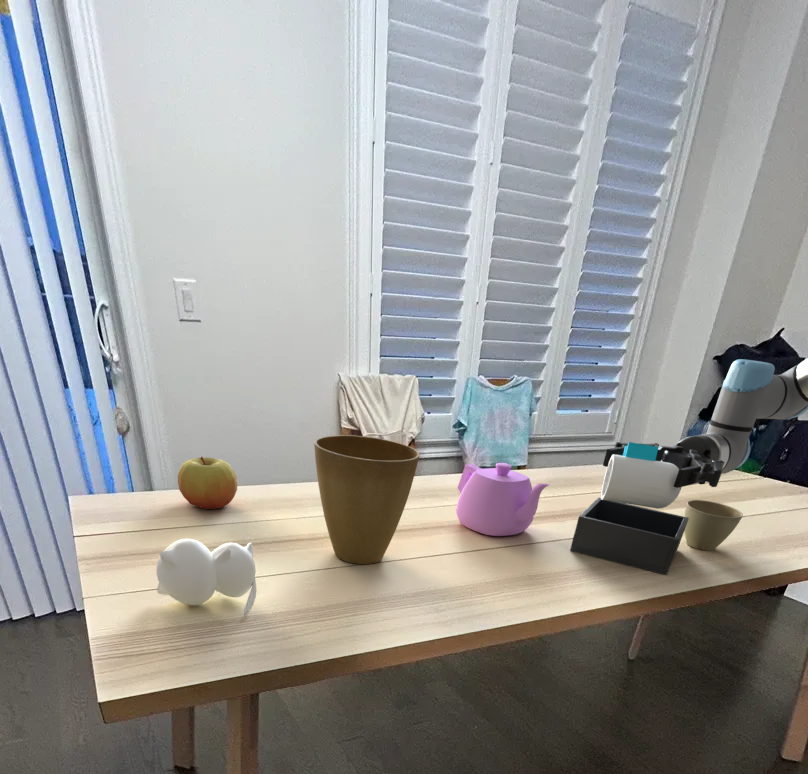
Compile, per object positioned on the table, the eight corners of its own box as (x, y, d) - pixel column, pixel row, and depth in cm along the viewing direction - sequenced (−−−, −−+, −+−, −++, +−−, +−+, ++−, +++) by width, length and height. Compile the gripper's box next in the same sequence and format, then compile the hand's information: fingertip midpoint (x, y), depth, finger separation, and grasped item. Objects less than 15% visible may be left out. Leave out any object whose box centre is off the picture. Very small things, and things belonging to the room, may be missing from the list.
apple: (174, 497, 112) (169, 449, 107) (229, 495, 116) (227, 449, 111) (187, 515, 105) (182, 465, 100) (245, 512, 109) (243, 463, 105)
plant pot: (373, 583, 90) (382, 465, 81) (291, 554, 95) (291, 441, 86) (425, 556, 101) (438, 450, 92) (349, 532, 106) (354, 429, 97)
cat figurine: (253, 520, 78) (151, 523, 72) (277, 592, 75) (172, 601, 69) (242, 563, 85) (148, 569, 80) (263, 631, 82) (167, 641, 77)
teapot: (510, 551, 107) (524, 484, 100) (432, 515, 119) (440, 453, 112) (559, 540, 114) (575, 477, 108) (481, 508, 126) (491, 449, 120)
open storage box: (677, 549, 117) (689, 517, 114) (666, 575, 105) (679, 540, 102) (589, 528, 122) (598, 497, 119) (569, 550, 110) (578, 516, 107)
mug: (696, 448, 100) (619, 436, 101) (681, 507, 102) (606, 496, 103) (674, 464, 111) (605, 453, 112) (661, 517, 113) (594, 506, 114)
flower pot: (669, 546, 119) (683, 507, 115) (677, 533, 126) (690, 496, 122) (725, 559, 115) (741, 520, 111) (729, 545, 123) (744, 508, 119)
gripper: (756, 496, 112) (703, 513, 99) (633, 461, 125) (573, 472, 112) (774, 451, 108) (722, 462, 95) (645, 420, 121) (584, 426, 108)
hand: (641, 467), depth 103 cm, fingers closed on mug, 12 cm apart
